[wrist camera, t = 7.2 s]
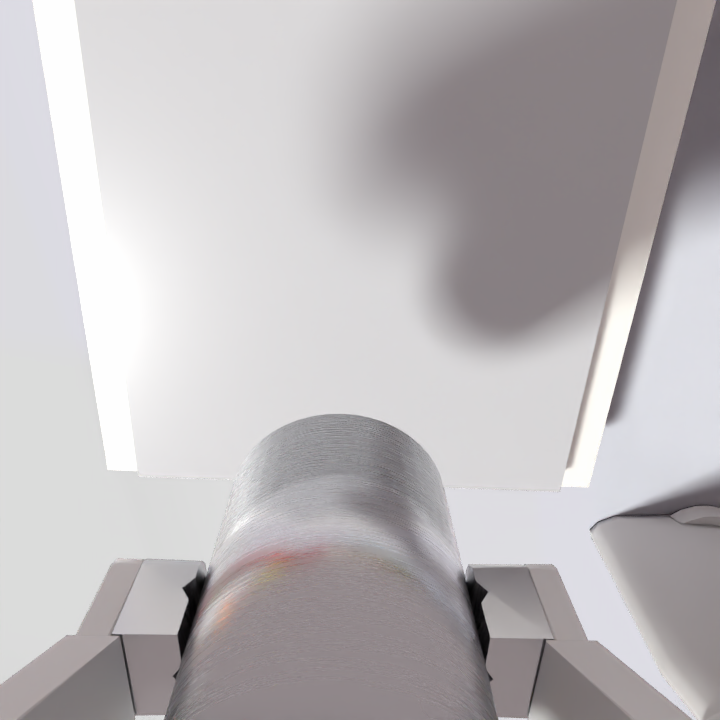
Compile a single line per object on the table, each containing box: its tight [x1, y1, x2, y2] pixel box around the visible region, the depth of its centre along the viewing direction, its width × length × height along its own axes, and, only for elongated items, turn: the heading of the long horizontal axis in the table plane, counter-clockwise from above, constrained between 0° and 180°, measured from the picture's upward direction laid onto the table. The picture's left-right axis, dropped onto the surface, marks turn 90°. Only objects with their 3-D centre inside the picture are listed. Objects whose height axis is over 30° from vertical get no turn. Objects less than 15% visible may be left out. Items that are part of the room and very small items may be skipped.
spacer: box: [164, 414, 498, 720], centre depth 10 cm, size 5×5×6 cm
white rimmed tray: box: [32, 0, 716, 492], centre depth 18 cm, size 18×22×4 cm
